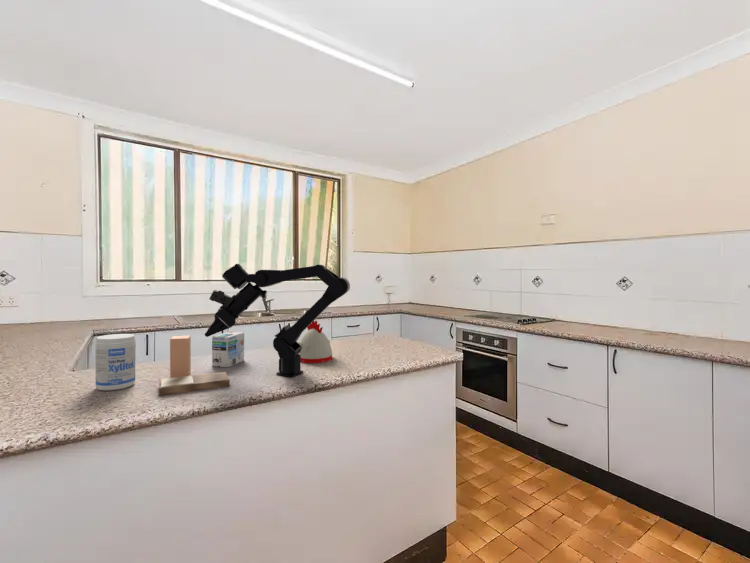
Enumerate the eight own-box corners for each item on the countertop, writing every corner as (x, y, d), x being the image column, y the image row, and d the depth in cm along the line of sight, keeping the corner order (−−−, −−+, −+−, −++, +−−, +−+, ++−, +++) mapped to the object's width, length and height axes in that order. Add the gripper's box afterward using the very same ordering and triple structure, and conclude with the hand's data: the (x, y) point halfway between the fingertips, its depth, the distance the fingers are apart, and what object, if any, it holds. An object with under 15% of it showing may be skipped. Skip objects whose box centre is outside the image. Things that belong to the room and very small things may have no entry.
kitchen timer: (314, 353, 153) (314, 317, 152) (339, 358, 145) (339, 320, 144) (288, 359, 142) (288, 320, 141) (314, 365, 134) (314, 324, 133)
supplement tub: (111, 393, 101) (111, 340, 100) (87, 389, 104) (86, 337, 103) (143, 383, 110) (143, 334, 110) (120, 379, 113) (119, 332, 113)
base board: (225, 378, 117) (225, 371, 116) (229, 386, 109) (229, 378, 109) (159, 386, 108) (159, 378, 108) (158, 395, 100) (158, 387, 100)
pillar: (190, 375, 119) (190, 335, 119) (188, 379, 114) (188, 338, 114) (173, 376, 117) (173, 336, 117) (170, 381, 113) (170, 338, 112)
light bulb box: (228, 367, 128) (228, 337, 128) (211, 366, 130) (211, 336, 129) (245, 360, 139) (245, 332, 138) (228, 359, 140) (229, 331, 140)
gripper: (227, 280, 128) (192, 312, 125) (223, 282, 110) (182, 320, 107) (250, 302, 131) (216, 334, 128) (251, 308, 113) (211, 345, 110)
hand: (207, 333), depth 118 cm, fingers open, 9 cm apart
